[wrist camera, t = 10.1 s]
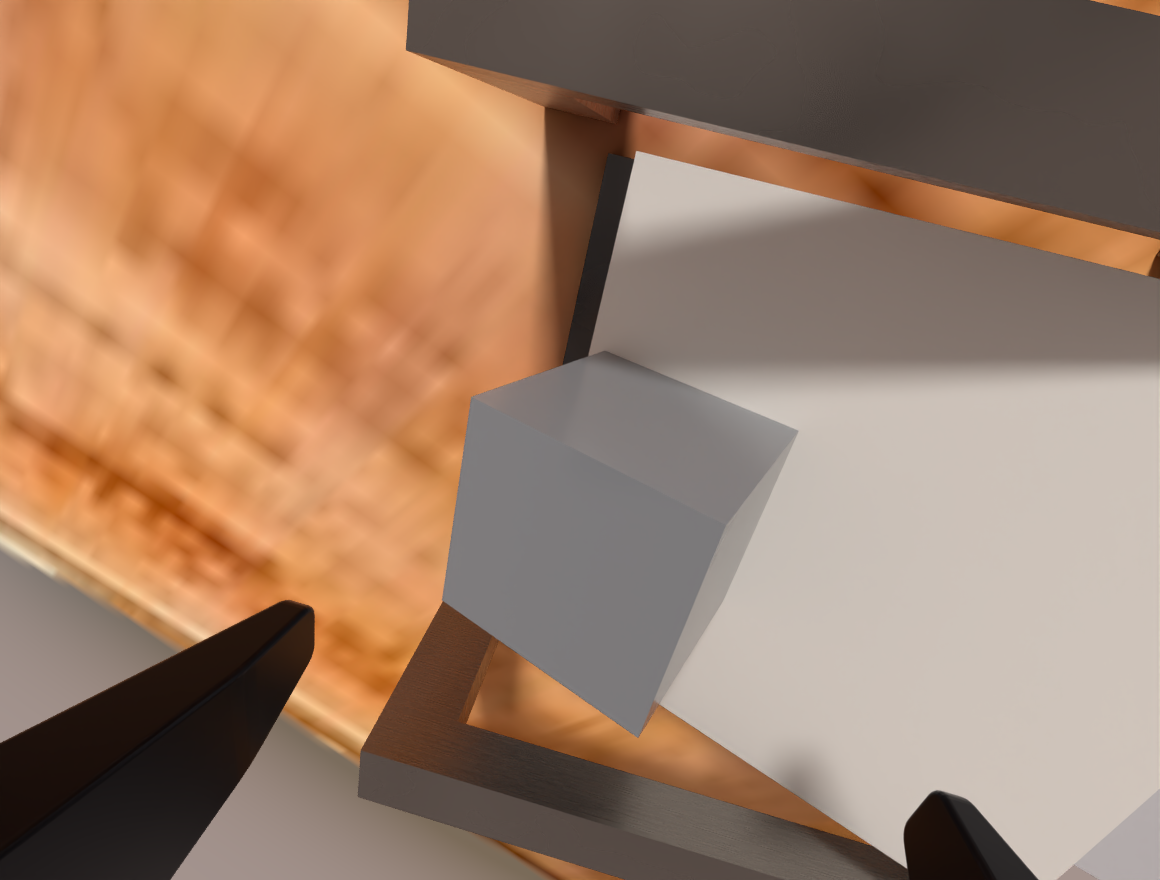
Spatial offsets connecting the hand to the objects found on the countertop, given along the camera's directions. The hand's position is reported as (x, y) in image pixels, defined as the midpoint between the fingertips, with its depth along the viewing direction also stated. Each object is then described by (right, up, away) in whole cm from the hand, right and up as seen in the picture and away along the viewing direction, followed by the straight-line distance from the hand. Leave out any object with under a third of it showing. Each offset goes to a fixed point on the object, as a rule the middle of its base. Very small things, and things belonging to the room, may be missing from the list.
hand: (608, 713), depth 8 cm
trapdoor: (+9, +2, +8) cm, 13 cm away
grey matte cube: (+2, +3, +7) cm, 7 cm away
